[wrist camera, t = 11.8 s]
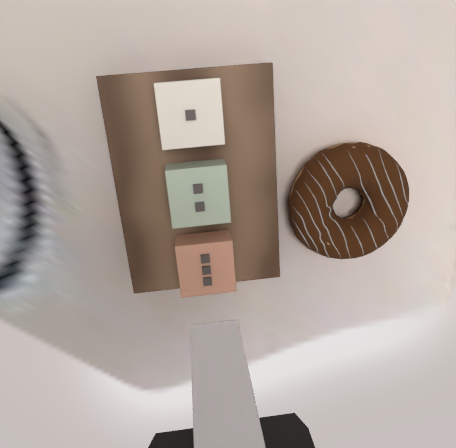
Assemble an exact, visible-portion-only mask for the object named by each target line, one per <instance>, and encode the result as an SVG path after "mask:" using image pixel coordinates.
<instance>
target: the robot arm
mask: <svg viewBox="0 0 456 448" xmlns="http://www.w3.org/2000/svg"><path fill="white" fill-rule="evenodd" d="M190 333H191V367H192V399H193V428H192V429H185V430H177V431H170V432H163V433H156V434H155V436H154V438H153V440H152V442H151V444H150V445H149V447H148V448H315V447H314V443H313V441H312V438H311V435H310V433H309V429H308V427H307V426H306V425H305V424H304V423H303V422H302V421H301V420H300V419H299V418H298V416H297V415H296V414H295V413H292V414H284V415H277V416H269V417H262V418H259V416H258V411H257V406H256V402H255V397H254V393H253V388H252V384H251V379H250V374H249V370H248V365H247V361H246V356H245V352H244V347H243V343H242V338H241V334H240V329H239V325H238V320H237V319H236V320H228V321H220V322H212V323H203V324H195V325H190Z"/></svg>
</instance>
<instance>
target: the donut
mask: <svg viewBox="0 0 456 448" xmlns="http://www.w3.org/2000/svg"><path fill="white" fill-rule="evenodd" d="M345 188H355V189H358V190H360V194H361V195H362V196H363V197H364V199H363V204H362V206H361V207H360V209H359V210H358V211H357V212H356V213H355V214H354V215H352V216H351V217H348V218H344V219H342V218H339V217H338V216H336V214H335V212H334V210H333V207H332V206H333V203H334V201H335V199H337V196H338V194H339V193H340V191H342V190H343V189H345ZM408 202H409V186H408V182H407V178H406V175H405V173H404V171H403V169H402V168H401V167H400V165H399V164H398V163H397V161H396V160H395V159H394V158H392V157H391V156H390V155H389V154H388V153H387V152H386V151H385V150H383V149H381V148H379V147H376V146H372V145H370V144H367V143H362V142H358V143H344V144H338V145H335V146H331V147H329V148H327V149H324V150H322V151H320V152H319V153H318V154H317V155H316V156H314V157H313V158H312V159H310V160H309V161H308V162H307V163H306V164H305V166H304V167H303V168H302V169H301V171H300V172H299V174H298V176H297V177H296V179H295V181H294V183H293V186H292V188H291V192H290V197H289V200H288V207H289V215H290V222H291V225H292V228H293V230H294V233H295V235H296V237H297V238H298V239H299V240H300V241H301V242H302V243H303V244H304V245H305V246H306V247H308V248H309V249H311V250H313V251H315V252H317V253H319V254H321V255H323V256H327V257H328V258H329V257H330V258H337V259H348V258H350V259H351V258H357V257H361V256H364V255H367V254H369V253H371V252H373V251H375V250H376V249H378V248H379V247H381V246H382V245H383V244H385V243H386V242H387V241H388V240H389V239H390V238H391V237H392V236H393V235H394V234H395V232H397V230H398V228H399V227H400V225H401V223H402V221H403V218H404V216H405V214H406V211H407V207H408Z"/></svg>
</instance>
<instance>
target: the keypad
mask: <svg viewBox="0 0 456 448" xmlns="http://www.w3.org/2000/svg"><path fill="white" fill-rule="evenodd" d="M96 78H97V84H98V89H99V95H100V101H101V107H102V112H103V118H104V124H105V130H106V135H107V141H108V147H109V153H110V158H111V164H112V170H113V176H114V181H115V187H116V193H117V198H118V204H119V210H120V216H121V221H122V227H123V233H124V239H125V244H126V250H127V256H128V262H129V267H130V273H131V279H132V285H133V290H134V293H142V292H151V291H160V290H168V289H177V288H180V283H179V276H178V268H177V260H176V252H175V235H184V234H193V233H203V232H212V231H222V230H230V234H231V237H232V241H233V254H234V267H235V280H236V282H238V281H247V280H256V279H264V278H273V277H280V267H279V238H278V209H277V180H276V151H275V122H274V93H273V64H272V63H259V64H246V65H234V66H221V67H208V68H196V69H183V70H170V71H158V72H145V73H132V74H120V75H107V76H96ZM208 78H220V84H221V97H222V110H223V123H224V136H225V144H224V145H213V146H202V147H191V148H180V149H169V150H162V144H161V137H160V129H159V121H158V113H157V106H156V98H155V90H154V83H158V82H170V81H183V80H195V79H208ZM214 159H224V160H225V162H226V164H227V175H228V188H229V202H230V215H231V223H222V224H213V225H203V226H194V227H184V228H175V229H172V222H171V214H170V206H169V198H168V191H167V183H166V175H165V168H166V164H171V163H182V162H192V161H203V160H214Z"/></svg>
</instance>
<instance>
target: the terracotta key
mask: <svg viewBox="0 0 456 448" xmlns="http://www.w3.org/2000/svg"><path fill="white" fill-rule="evenodd" d="M175 252H176V260H177V268H178V276H179V283H180V291H181V298H182V297H191V296H199V295H208V294H216V293H225V292H234V291H236V280H235V267H234V254H233V241H232V237H231V234H230V230H222V231H212V232H203V233H193V234H184V235H175Z"/></svg>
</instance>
